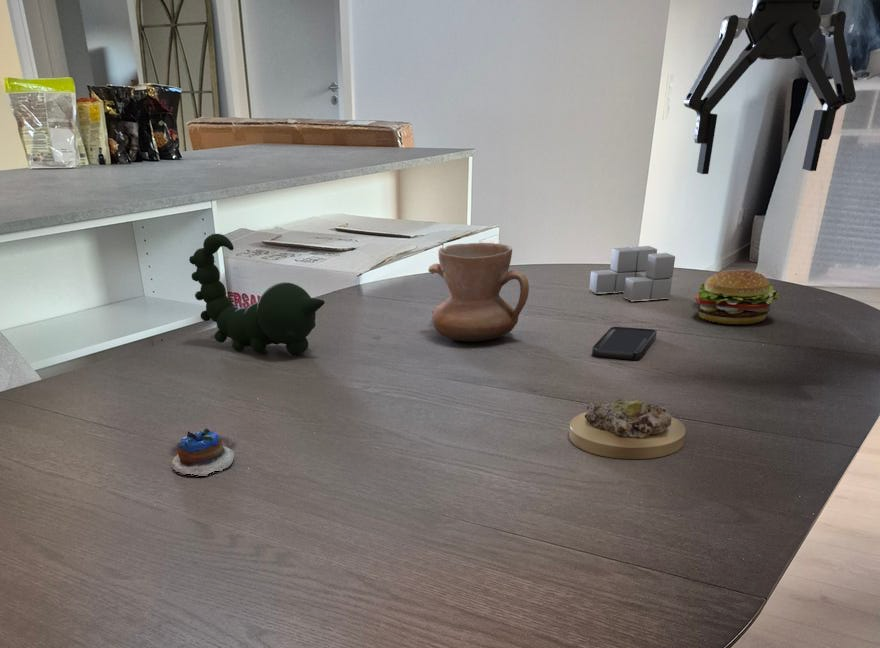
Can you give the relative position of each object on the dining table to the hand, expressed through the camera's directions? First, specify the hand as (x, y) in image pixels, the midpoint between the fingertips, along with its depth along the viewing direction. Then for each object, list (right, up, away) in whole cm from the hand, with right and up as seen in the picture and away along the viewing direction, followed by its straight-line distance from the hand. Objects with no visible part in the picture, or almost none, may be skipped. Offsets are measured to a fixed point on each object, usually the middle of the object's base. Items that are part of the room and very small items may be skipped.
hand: (755, 171), depth 109 cm
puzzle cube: (0, +9, +61) cm, 61 cm away
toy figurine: (-69, -11, +35) cm, 78 cm away
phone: (-9, -12, +30) cm, 34 cm away
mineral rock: (-18, -34, -4) cm, 39 cm away
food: (+15, -2, +44) cm, 46 cm away
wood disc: (-18, -35, -3) cm, 40 cm away
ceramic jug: (-33, -8, +38) cm, 51 cm away
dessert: (-70, -39, -7) cm, 80 cm away
